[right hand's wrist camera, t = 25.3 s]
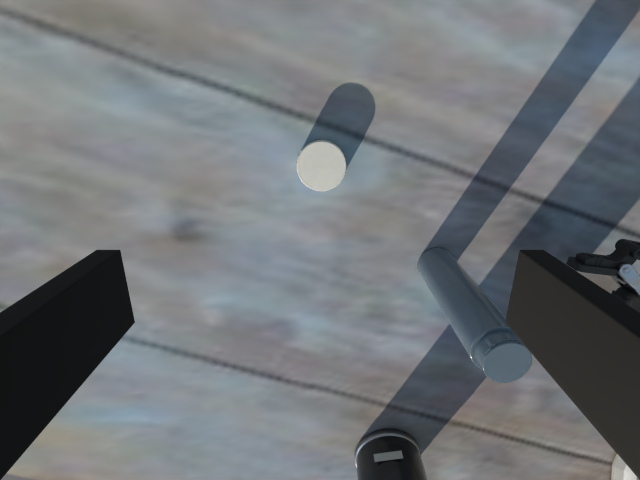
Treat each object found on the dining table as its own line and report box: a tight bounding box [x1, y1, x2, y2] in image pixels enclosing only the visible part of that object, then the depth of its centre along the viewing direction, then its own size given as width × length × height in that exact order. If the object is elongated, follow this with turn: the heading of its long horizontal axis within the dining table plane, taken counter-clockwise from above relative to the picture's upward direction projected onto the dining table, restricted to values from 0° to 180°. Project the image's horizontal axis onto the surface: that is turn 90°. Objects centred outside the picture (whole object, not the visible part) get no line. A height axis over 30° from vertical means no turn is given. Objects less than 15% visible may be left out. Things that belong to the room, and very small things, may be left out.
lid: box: [297, 139, 347, 191], centre depth 39 cm, size 5×5×2 cm
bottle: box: [418, 248, 532, 383], centre depth 35 cm, size 4×4×18 cm
